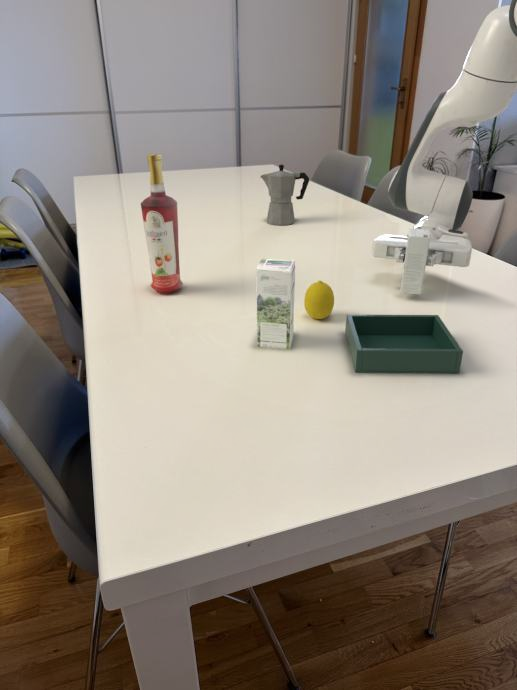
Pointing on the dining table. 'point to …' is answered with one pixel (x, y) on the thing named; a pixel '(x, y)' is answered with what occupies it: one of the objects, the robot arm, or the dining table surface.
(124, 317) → the dining table surface
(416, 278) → the cosmetic box
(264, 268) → the syrup box
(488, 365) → the dining table surface
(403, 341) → the bin
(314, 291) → the lemon
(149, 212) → the liquor
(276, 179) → the coffeepot
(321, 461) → the dining table surface
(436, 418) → the dining table surface
